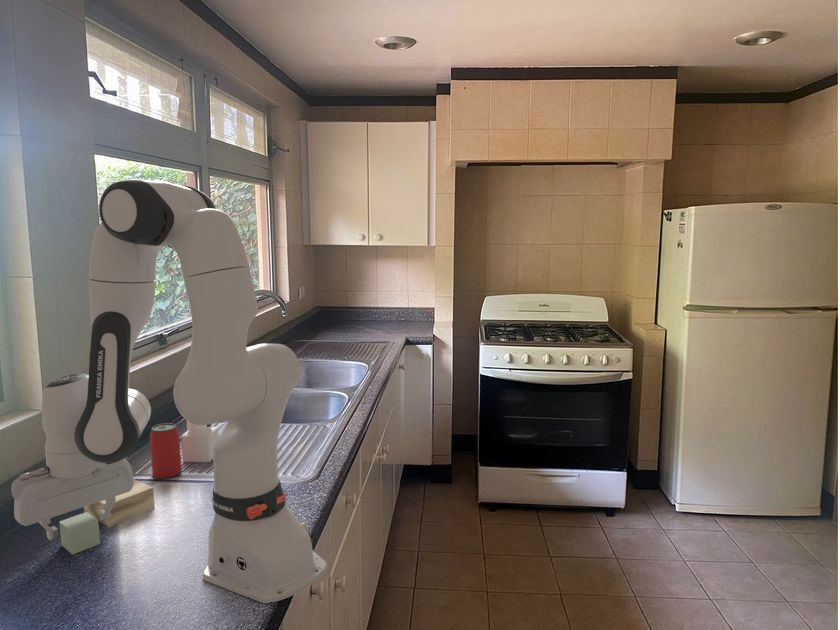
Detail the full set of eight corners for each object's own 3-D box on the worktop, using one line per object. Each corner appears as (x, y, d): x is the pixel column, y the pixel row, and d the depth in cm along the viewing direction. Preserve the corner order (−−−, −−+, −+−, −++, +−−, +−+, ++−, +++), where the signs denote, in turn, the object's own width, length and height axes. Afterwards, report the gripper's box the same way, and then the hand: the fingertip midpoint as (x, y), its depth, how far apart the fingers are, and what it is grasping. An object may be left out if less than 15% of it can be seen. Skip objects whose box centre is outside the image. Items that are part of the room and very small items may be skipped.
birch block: (154, 509, 132) (153, 487, 131) (109, 528, 124) (107, 505, 123) (129, 497, 138) (127, 476, 137) (84, 514, 130) (82, 492, 129)
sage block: (100, 544, 118) (98, 519, 117) (72, 555, 114) (69, 530, 113) (89, 535, 121) (86, 511, 120) (61, 545, 117) (59, 521, 116)
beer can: (172, 466, 154) (169, 420, 152) (186, 473, 150) (183, 426, 148) (147, 474, 149) (143, 427, 147) (161, 482, 145) (157, 433, 143)
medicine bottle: (193, 451, 163) (190, 408, 161) (219, 452, 163) (217, 408, 161) (182, 462, 156) (179, 417, 154) (210, 462, 156) (207, 417, 154)
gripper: (16, 482, 105) (24, 556, 108) (134, 448, 121) (139, 514, 123) (4, 472, 110) (12, 543, 112) (120, 441, 125) (125, 504, 127)
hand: (79, 528), depth 118 cm, fingers open, 8 cm apart
